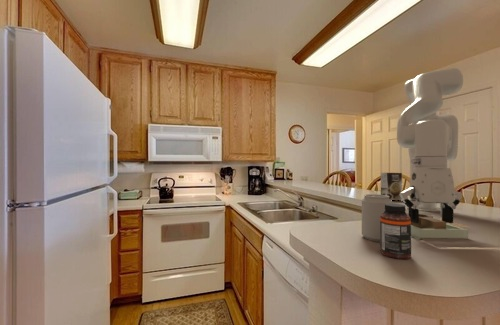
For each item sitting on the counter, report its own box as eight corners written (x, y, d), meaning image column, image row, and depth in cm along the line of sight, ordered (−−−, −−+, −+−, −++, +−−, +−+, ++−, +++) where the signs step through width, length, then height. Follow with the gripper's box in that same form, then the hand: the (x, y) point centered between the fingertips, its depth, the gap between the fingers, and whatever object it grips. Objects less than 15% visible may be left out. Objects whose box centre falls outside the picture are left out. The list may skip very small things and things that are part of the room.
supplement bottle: (388, 248, 58) (388, 201, 58) (416, 256, 53) (416, 205, 53) (374, 253, 55) (374, 203, 55) (403, 262, 50) (402, 207, 50)
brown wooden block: (400, 225, 78) (400, 213, 78) (422, 225, 78) (422, 213, 78) (427, 236, 66) (427, 221, 66) (452, 236, 66) (452, 222, 66)
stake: (419, 220, 87) (419, 192, 87) (444, 221, 87) (444, 192, 87) (443, 228, 76) (443, 196, 76) (472, 229, 76) (471, 196, 76)
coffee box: (388, 201, 134) (388, 172, 134) (380, 199, 140) (380, 172, 140) (402, 201, 136) (402, 172, 136) (393, 199, 142) (393, 172, 142)
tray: (384, 224, 82) (384, 216, 82) (423, 224, 81) (423, 216, 81) (419, 239, 64) (419, 229, 65) (468, 240, 64) (468, 229, 64)
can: (397, 243, 61) (397, 197, 61) (365, 241, 63) (365, 196, 63) (386, 235, 69) (386, 193, 69) (358, 233, 70) (358, 192, 70)
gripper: (408, 162, 66) (409, 225, 66) (472, 163, 66) (472, 225, 65) (392, 163, 73) (393, 219, 73) (449, 163, 73) (450, 219, 73)
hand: (430, 222), depth 69 cm, fingers open, 9 cm apart
